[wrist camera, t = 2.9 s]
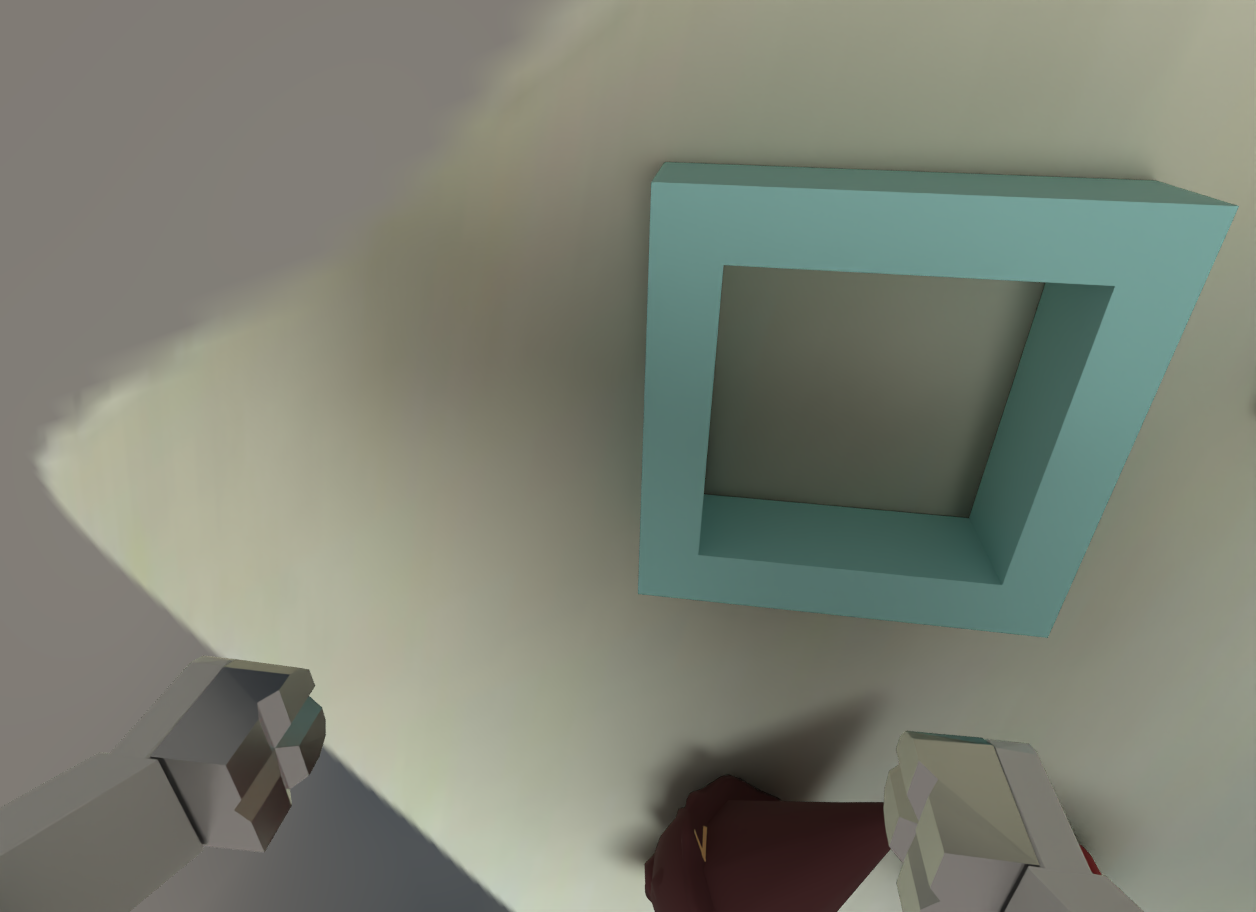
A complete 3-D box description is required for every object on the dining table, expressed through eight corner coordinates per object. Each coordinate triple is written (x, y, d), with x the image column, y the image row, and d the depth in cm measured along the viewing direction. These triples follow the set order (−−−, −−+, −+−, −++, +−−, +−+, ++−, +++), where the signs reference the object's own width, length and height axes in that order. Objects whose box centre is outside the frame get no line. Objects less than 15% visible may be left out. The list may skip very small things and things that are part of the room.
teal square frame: (1156, 180, 15) (1239, 206, 13) (1010, 566, 21) (1047, 637, 18) (665, 161, 17) (651, 181, 14) (649, 531, 22) (637, 593, 20)
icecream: (801, 825, 19) (529, 949, 27) (1006, 1017, 18) (669, 1082, 27) (836, 659, 24) (603, 803, 33) (991, 803, 24) (719, 911, 33)
